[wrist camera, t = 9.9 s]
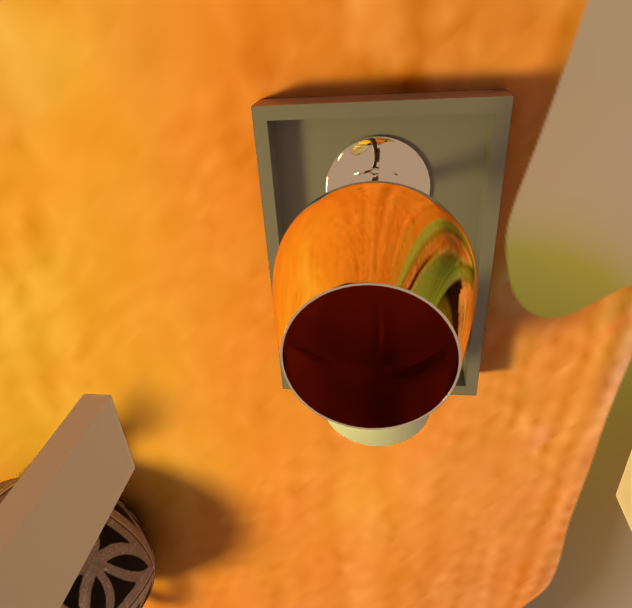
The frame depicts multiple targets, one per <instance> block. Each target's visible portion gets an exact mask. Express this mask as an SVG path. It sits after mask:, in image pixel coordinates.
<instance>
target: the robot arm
mask: <svg viewBox="0 0 632 608" xmlns="http://www.w3.org/2000/svg"><path fill="white" fill-rule="evenodd" d="M134 469H135V465H134V462H133V459H132V456H131V453H130V450H129V447H128V444H127V441H126V438H125V435H124V432H123V429H122V426H121V423H120V421H119V418H118V415H117V412H116V409H115V406H114V403H113V400H112V397H111V395H96V394H84V395H83V396H82V397H81V399H80V400H79V401H78V403H77V404H76V405H75V406H74V408H73V409H72V410H71V412H70V413H69V414H68V416H67V417H66V418H65V420H64V421H63V422H62V424H61V425H60V426H59V427H58V429H57V430H56V431H55V433H54V434H53V435H52V437H51V438H50V439H49V441H48V442H47V443H46V445H45V446H44V447H43V448H42V450H41V451H40V452H39V454H38V455H37V456H36V458H35V459H34V460H33V462H32V463H31V464H30V465H29V467H28V468H27V469H26V471H25V472H24V473H23V475H22V476H21V477H20V479H19V480H18V481H17V483H16V484H15V485H14V486H13V488H12V489H11V490H10V492H9V493H8V494H7V496H6V497H5V498H4V500H3V501H2V502H1V504H0V608H61V606H62V604H63V602H64V600H65V598H66V596H67V595H68V593H69V591H70V589H71V587H72V585H73V583H74V581H75V580H76V578H77V576H78V574H79V572H80V570H81V568H82V567H83V565H84V563H85V561H86V559H87V557H88V555H89V553H90V552H91V550H92V548H93V546H94V544H95V542H96V540H97V539H98V537H99V535H100V533H101V531H102V529H103V527H104V525H105V524H106V522H107V520H108V518H109V516H110V514H111V512H112V511H113V509H114V507H115V505H116V503H117V501H118V499H119V497H120V496H121V494H122V492H123V490H124V488H125V486H126V484H127V483H128V481H129V479H130V477H131V475H132V473H133V471H134ZM616 497H617V500H618V502H619V504H620V506H621V508H622V511H623V513H624V515H625V517H626V519H627V522H628V524H629V526H630V528H631V531H632V451H631V454H630V457H629V459H628V462H627V465H626V468H625V470H624V473H623V476H622V479H621V482H620V485H619V487H618V490H617V493H616Z"/></svg>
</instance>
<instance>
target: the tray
mask: <svg viewBox="0 0 632 608" xmlns="http://www.w3.org/2000/svg"><path fill="white" fill-rule="evenodd" d="M513 99H514V95H512V94H511V93H510V92H508V91H507V90H506V89H490V90H466V91H442V92H419V93H395V94H371V95H347V96H323V97H299V98H275V99H260V100H259V101H258V102H256V103H255V104H254V105H252V106H251V109H252V118H253V127H254V136H255V145H256V154H257V162H258V171H259V180H260V189H261V198H262V207H263V216H264V225H265V233H266V242H267V251H268V260H269V269H270V278H271V287H272V284H273V270H274V264H275V259H276V255H277V252H278V249H279V246H280V243H281V241H282V239H283V237H284V235H285V233H286V231H287V229H288V228H289V226H290V225H291V223H292V222H293V221H294V219H295V218H296V217H297V216H298V214H299V213H300V212H301V211H302V210H303V209H304V208H305V207H307V206H308V205H309V204H310V203H311V202H313V201H314V200H315V199H317V198H318V197H320V196H322V195H323V194H325V193H326V180H327V175H328V172H329V169H330V167H331V165H332V163H333V161H334V160H335V158H336V157H337V156H338V155H339V153H340V152H341V151H342V150H344V149H345V148H346V147H347V146H349V145H350V144H352V143H353V142H355V141H358V140H360V139H363V138H366V137H371V136H387V137H392V138H396V139H398V140H401V141H403V142H405V143H407V144H408V145H410V146H411V147H412V148H413V149H414V150H416V151H417V153H418V154H419V155H420V156H421V158H422V159H423V161H424V162H425V164H426V167H427V169H428V172H429V176H430V196H431V197H433V198H434V199H436V200H437V201H439V202H440V203H441V204H442V205H443V206H445V207H446V208H447V209H448V210H449V211H450V212H451V213H452V214H453V215H454V217H455V218H456V219H457V220H458V222H459V223H460V224H461V226H462V228H463V229H464V231H465V233H466V234H467V236H468V238H469V241H470V243H471V246H472V249H473V252H474V255H475V259H476V265H477V273H478V293H477V302H476V308H475V314H474V319H473V324H472V328H471V332H470V337H469V341H468V345H467V348H466V352H465V356H464V360H463V363H462V367H461V371H460V374H459V378H458V381H457V383H456V385H455V387H454V389H453V391H452V392H451V394H450V395H476V393H477V385H478V377H479V369H480V361H481V354H482V346H483V338H484V330H485V322H486V314H487V306H488V298H489V290H490V282H491V274H492V266H493V258H494V250H495V242H496V234H497V226H498V219H499V211H500V203H501V195H502V187H503V179H504V171H505V163H506V155H507V147H508V139H509V131H510V123H511V115H512V107H513ZM272 295H273V292H272ZM278 349H279V348H278ZM279 358H280V355H279ZM280 366H281V362H280ZM281 375H282V384H283V389H291V388H290V387H289V385H288V383H287V381H286V379H285V377H284V374H283V371H282V367H281Z"/></svg>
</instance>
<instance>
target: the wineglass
mask: <svg viewBox="0 0 632 608" xmlns="http://www.w3.org/2000/svg"><path fill="white" fill-rule="evenodd" d="M272 292H273V308H274V318H275V326H276V334H277V341H278V348H279V355H280V362H281V367H282V371H283V374H284V377H285V379H286V381H287V383H288V385H289V387H290V388H291V390H292V391H293V393H294V394H295V395H296V396H297V398H298V399H299V400H300V401H301V402H302V403H303V404H304V405H305V406H307V407H308V408H309V409H310V410H312V411H313V412H315V413H316V414H318V415H320V416H321V417H323V418H325V419H327V420H329V421H332V422H334V423H337V424H340V425H343V426H347V427H351V428H356V429H365V430H384V429H392V428H397V427H401V426H405V425H408V424H411V423H413V422H416V421H418V420H420V419H422V418H424V417H426V416H427V415H429V414H430V413H432V412H433V411H435V410H436V409H437V408H438V407H439V406H440V405H441V404H442V403H443V402H444V401H445V400H446V399H447V398H448V397H449V395H450V394H451V392H452V391H453V389H454V387H455V385H456V383H457V381H458V378H459V374H460V371H461V367H462V363H463V360H464V356H465V352H466V348H467V345H468V341H469V337H470V332H471V328H472V324H473V319H474V314H475V308H476V302H477V293H478V273H477V265H476V259H475V255H474V252H473V249H472V246H471V243H470V241H469V238H468V236H467V234H466V233H465V231H464V229H463V228H462V226H461V224H460V223H459V222H458V220H457V219H456V218H455V217H454V215H453V214H452V213H451V212H450V211H449V210H448V209H447V208H446V207H445V206H443V205H442V204H441V203H440V202H439V201H437V200H436V199H434V198H433V197H431V196H430V176H429V172H428V169H427V167H426V164H425V162H424V161H423V159H422V158H421V156H420V155H419V154H418V153H417V151H416V150H414V149H413V148H412V147H411V146H410V145H408V144H407V143H405V142H403V141H401V140H398V139H396V138H392V137H387V136H371V137H366V138H363V139H360V140H358V141H355V142H353V143H352V144H350V145H349V146H347V147H346V148H345V149H344V150H342V151H341V152H340V153H339V155H338V156H337V157H336V158H335V160H334V161H333V163H332V165H331V167H330V169H329V172H328V175H327V180H326V193H325V194H323V195H322V196H320V197H318V198H317V199H315V200H314V201H313V202H311V203H310V204H309V205H308V206H307V207H305V208H304V209H303V210H302V211H301V212H300V213H299V214H298V216H297V217H296V218H295V219H294V221H293V222H292V223H291V225H290V226H289V228H288V229H287V231H286V233H285V235H284V237H283V239H282V241H281V243H280V246H279V249H278V252H277V255H276V259H275V264H274V270H273V284H272Z"/></svg>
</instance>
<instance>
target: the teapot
mask: <svg viewBox="0 0 632 608" xmlns="http://www.w3.org/2000/svg"><path fill="white" fill-rule="evenodd" d="M19 479H20V478H15V479H10V480H6V481H4V482H1V483H0V504H1V502H2V501H3V500H4V498H5V497H6V496H7V494H8V493H9V492H10V490H11V489H12V488H13V486H14V485H15V484H16V483H17V481H18V480H19ZM154 579H155V559H154V554H153V550H152V547H151V544H150V542H149V540H148V538H147V536H146V534H145V532H144V530H143V529H142V526H141V525H140V523H139V521H138V520H137V518H136V517H135V515H134V514H133V513H132V512H131V511H130V510H129V508H128V507H126V506H125V505H124V504H123V503H122V502H121V501H119V500H118V501H117V503H116V505H115V507H114V509H113V511H112V512H111V514H110V516H109V518H108V520H107V522H106V524H105V525H104V527H103V529H102V531H101V533H100V535H99V537H98V539H97V540H96V542H95V544H94V546H93V548H92V550H91V552H90V553H89V555H88V557H87V559H86V561H85V563H84V565H83V567H82V568H81V570H80V572H79V574H78V576H77V578H76V580H75V581H74V583H73V585H72V587H71V589H70V591H69V593H68V595H67V596H66V598H65V600H64V602H63V604H62V606H61V608H142V607H143V605H144V603H145V602H146V600H147V598H148V596H149V594H150V592H151V589H152V587H153V584H154Z"/></svg>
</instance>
